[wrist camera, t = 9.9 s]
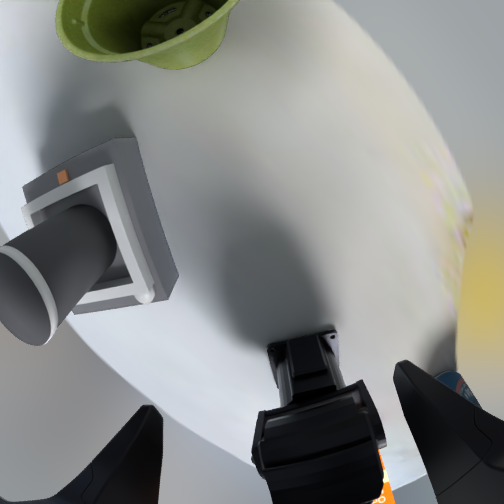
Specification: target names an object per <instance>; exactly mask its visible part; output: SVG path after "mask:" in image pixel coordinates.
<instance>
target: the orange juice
mask: <svg viewBox="0 0 504 504" xmlns="http://www.w3.org/2000/svg"><path fill="white" fill-rule="evenodd" d="M378 451H379V449H378ZM379 455H380V452H379ZM380 459H381V463H382V467H383V471H384V479H383V482H384V487H383V490H382V492H381V495H380V498H379V499H376V500H374V501H373V503H372V504H395V501H394V498H393V494H392V491H391V487H390V484H389V480H388V476H387V473H386V470H385V468H384V465H383V461H382V458H381V455H380Z"/></svg>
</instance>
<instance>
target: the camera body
mask: <svg viewBox="0 0 504 504" xmlns="http://www.w3.org/2000/svg"><path fill="white" fill-rule="evenodd" d="M22 188H23V191H24V195H25V198H26V202H27V204H26V205H24V206H22V207H21V210H22V213H23V216H24V219H25V222H26V225H27V228H28V230H29V229H31V228H33V227H34V226H36V225H38V224H40V223H42V222H43V221H45V220H47V219H49V218H51V217H53V216H54V215H56V214H58V213H60V212H62V211H64V210H66V209H68V208H70V207H72V206H74V205H78V204H86V205H90V206H93V207H95V208H97V209H98V210H99V211H101V212H102V213H103V214H104V215H105V216H106V217H107V219H108V220H109V222H110V224H111V227H112V230H113V233H114V235H115V238H116V241H117V252H116V256H115V259H114V262H113V263H112V265H111V266H110V267H109V268H108V269H107V270H106V271H105V272H104V274H103V275H102V276H101V277H100V278H99V279H98V280H97V281H96V282H95V284H94V285H93V286H92V287H91V288H90V289H89V290H88V291H87V293H86V294H85V295H84V296H83V297H82V298H81V300H80V301H79V302H78V303H77V304H76V305H75V307H74V308H73V309H72V311H73V313H74V315H76V314H83V313H90V312H97V311H103V310H110V309H116V308H122V307H129V306H135V305H141V304H149V303H153V302H158V301H164V300H168V299H169V297H170V294H171V292H172V290H173V288H174V285H175V283H176V281H177V279H178V277H179V275H178V272H177V269H176V266H175V264H174V261H173V258H172V255H171V252H170V250H169V247H168V244H167V241H166V238H165V235H164V232H163V229H162V226H161V223H160V220H159V217H158V214H157V211H156V207H155V204H154V201H153V198H152V194H151V191H150V188H149V184H148V181H147V177H146V174H145V170H144V167H143V163H142V159H141V155H140V152H139V148H138V144H137V140H136V137H134V138H114V139H111V140H109V141H107V142H105V143H102V144H100V145H98V146H96V147H94V148H92V149H89V150H87V151H85V152H83V153H81V154H79V155H77V156H75V157H73V158H71V159H70V160H68V161H66V162H64V163H62V164H60V165H58V166H57V167H55V168H53V169H51V170H49V171H48V172H46V173H44V174H43V175H41V176H39V177H38V178H36V179H34V180H33V181H31V182H29V183H28V184H26V185H25V186H23V187H22Z"/></svg>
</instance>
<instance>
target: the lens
mask: <svg viewBox="0 0 504 504" xmlns="http://www.w3.org/2000/svg"><path fill="white" fill-rule="evenodd" d="M116 252H117V241H116V238H115V235H114V233H113V230H112V227H111V224H110V222H109V220H108V219H107V217H106V216H105V215H104V214H103V213H102V212H101V211H99V210H98V209H97V208H95V207H93V206H90V205H86V204H78V205H74V206H72V207H70V208H68V209H66V210H64V211H62V212H60V213H58V214H56V215H54V216H53V217H51V218H49V219H47V220H45V221H43V222H42V223H40V224H38V225H36V226H34V227H33V228H31V229H29V230H27V231H26V232H24V233H22V234H21V235H19V236H17V237H16V238H14V239H12V240H11V241H9V242H8V243H6V244H5V245H3V246H0V321H1V322H2V324H3V325H4V326H5V327H6V328H7V329H8V330H9V331H10V332H11V333H12V334H13V335H14V336H16V337H17V338H18V339H20V340H21V341H23V342H25V343H27V344H30V345H34V346H40V345H43V344H46V343H47V342H48V341H49V339H50V338H51V337H52V336H53V334H54V333H55V331H56V329H57V328H58V326H59V325H60V324H61V323H62V321H63V320H64V319H65V318H66V316H67V315H68V314H69V313H70V311H71V310H72V309H73V308H74V307H75V305H76V304H77V303H78V302H79V301H80V300H81V298H82V297H83V296H84V295H85V294H86V293H87V291H88V290H89V289H90V288H91V287H92V286H93V285H94V284H95V282H96V281H97V280H98V279H99V278H100V277H101V276H102V275H103V274H104V272H105V271H106V270H107V269H108V268H109V267H110V266H111V265H112V263H113V262H114V259H115V256H116Z"/></svg>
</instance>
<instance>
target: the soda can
mask: <svg viewBox="0 0 504 504" xmlns="http://www.w3.org/2000/svg"><path fill="white" fill-rule="evenodd" d="M435 378H436V379H437V380H439V381H440V382H442V383H443V384H445V385H446V386H448V387H449V388H451V389H452V390H454V391H455V392H457V393H458V394H460V395H461V396H463V397H464V398H466V399H467V400H469V401H471V402H472V403H474V405H477V406H478V407H480V408H481V409H482V407H481V406H480V404H479V403H478V401H477V399H476V398H475V396H474V395H473V393H472V391H471V390H470V388H469V387H468V385H467V384H466V382H465V381H464V379H463V378H462V376H461V375H460V374H459V373H457V372H454V371H445V372H443V373H441V374H439V375H438V376H436V377H435Z"/></svg>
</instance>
